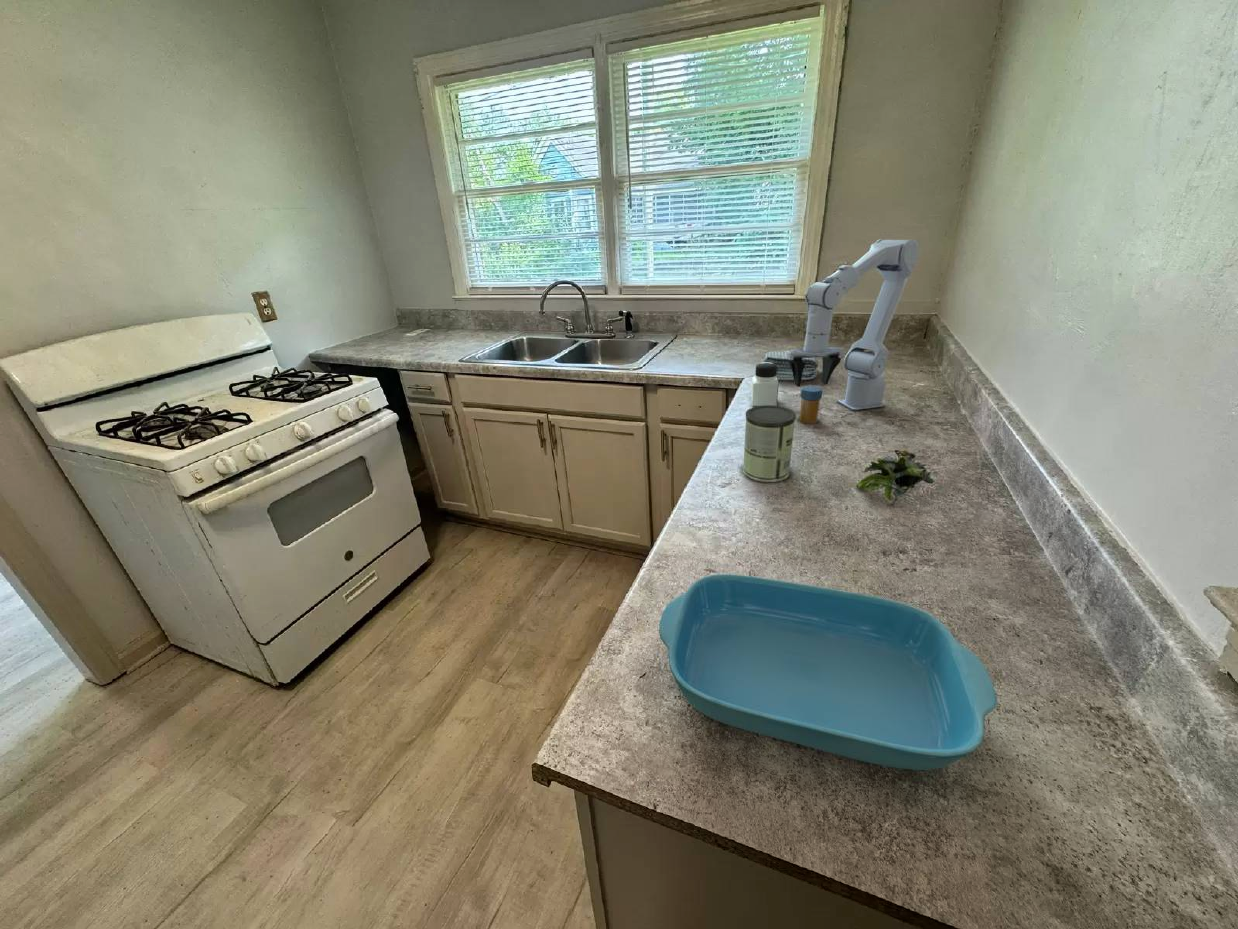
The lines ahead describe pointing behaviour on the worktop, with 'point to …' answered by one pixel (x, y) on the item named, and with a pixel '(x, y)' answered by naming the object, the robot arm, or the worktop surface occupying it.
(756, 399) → the medicine bottle
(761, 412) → the coffee can
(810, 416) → the honey jar
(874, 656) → the casserole dish
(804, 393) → the jar lid
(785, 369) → the towel
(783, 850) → the worktop surface
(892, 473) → the green leafy plant
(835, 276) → the robot arm
